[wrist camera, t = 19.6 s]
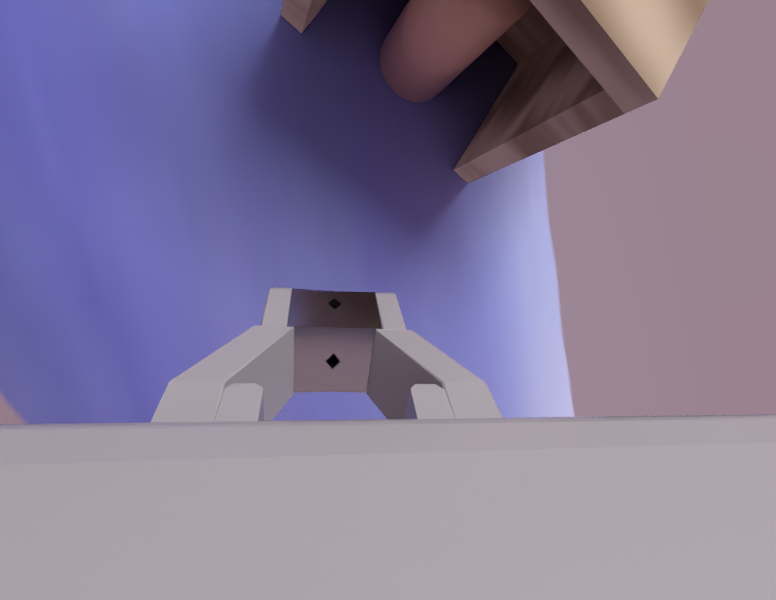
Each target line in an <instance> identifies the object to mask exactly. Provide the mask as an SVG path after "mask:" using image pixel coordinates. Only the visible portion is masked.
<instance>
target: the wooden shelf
mask: <svg viewBox="0 0 776 600" xmlns="http://www.w3.org/2000/svg"><path fill="white" fill-rule="evenodd" d="M530 1H531V5H530V7H529V9H528V10H527V12H526V13H525V14H524V15H523V16H522V17H521V18H520V19H519V20H518V21H516V22H515V23H514V24H513V25H512V26H511V27H510V28H509V29H508V30H507V31H506V32H505V33H504V34H502V35H501V36H500V37H499V38H498V39H497V40H496V41H497V42H498V43H499V44H500V45H501V46H502V47H503V48H504V49H505V50H506V52H507V53H508V54H509V55H510V56H511V57H512V58H513V59H514V60H515V61H516V63H517V64H518V66H517V67H516V69H515V71H514V72H513V74H512V76H511V77H510V79H509V80H508V82H507V84H506V85H505V87H504V88H503V90H502V92H501V93H500V95H499V97H498V98H497V100H496V101H495V103H494V105H493V106H492V108H491V110H490V111H489V113H488V114H487V116H486V118H485V119H484V121H483V123H482V124H481V126H480V127H479V129H478V131H477V132H476V134H475V136H474V137H473V139H472V140H471V142H470V144H469V145H468V147H467V149H466V150H465V152H464V153H463V155H462V157H461V158H460V160H459V162H458V163H457V165H456V166H455V168H454V170H453V171H455V172H456V173H457V174H458V175H459V176H460V177H461V178H462V179H463V180H465V181H466V182H467V183H470V182H472V181H474V180H477V179H479V178H481V177H483V176H486V175H488V174H490V173H492V172H495V171H497V170H499V169H501V168H504V167H506V166H508V165H510V164H513V163H515V162H517V161H519V160H522V159H524V158H526V157H528V156H531V155H533V154H535V153H537V152H540V151H542V150H544V149H546V148H548V147H551V146H553V145H555V144H557V143H560V142H562V141H564V140H566V139H569V138H571V137H573V136H576V135H578V134H580V133H582V132H585V131H587V130H589V129H591V128H593V127H596V126H598V125H600V124H602V123H605V122H607V121H609V120H612V119H614V118H616V117H618V116H621V115H623V114H625V113H627V112H630V111H632V110H634V109H636V108H639V107H641V106H643V105H645V104H647V103H650V102H652V101H654V100H656V99H658V98H659V96H660V94H661V92H662V90H663V88H664V86H665V85H666V83H667V81H668V79H669V77H670V75H671V72H672V71H673V69H674V67H675V65H676V63H677V61H678V59H679V57H680V55H681V53H682V52H683V50H684V48H685V46H686V44H687V42H688V40H689V38H690V36H691V34H692V32H693V30H694V28H695V26H696V24H697V22H698V21H699V19H700V17H701V15H702V13H703V11H704V9H705V7H706V5H707V3H708V1H709V0H530ZM326 2H327V0H284V1H283V6H282V11H281V16H282V17H283V18H285V19H286V20H287V21H288V22H289V23H290V24H291V25H292V26H293V27H295V28H296V29H297V30H298V31H299V32H300V33H301V34H302V33H303V31H304V30H305V29H306V28H307V26H308V25H309V24H310V22H311V21H312V20H313V18H314V17H315V16H316V15H317V13H318V12H319V11H320V9H321V8H322V7H323V5H324V4H325V3H326Z"/></svg>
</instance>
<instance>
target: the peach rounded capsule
mask: <svg viewBox="0 0 776 600" xmlns="http://www.w3.org/2000/svg"><path fill="white" fill-rule="evenodd" d="M530 5H531V1H530V0H409V2H408V3H407V5H406V6H405V8H404V9H403V11H402V13H401V14H400V16H399V17H398V19H397V21H396V22H395V24H394V25H393V27H392V29H391V30H390V32H389V33H388V35H387V36H386V38H385V40H384V41H383V43H382V46H381V50H380V67H381V71H382V74H383V76H384V78H385V80H386V82H387V84H388V85H389V86H390V88H391V89H392V90H393V91H394V92H395V93H396V94H397V95H399V96H400V97H401V98H403V99H405V100H407V101H410V102H415V103H423V102H427V101H430V100H432V99H433V98H434V97H436V96H437V95H438V94H439V93H440V92H441V91H442V90H443V89H444V88H445V87H446V86H447V85H449V84H450V83H451V82H452V81H453V80H454V79H455V78H456V77H457V76H458V75H459V74H460V73H461V72H463V71H464V70H465V69H466V68H467V67H468V66H469V65H470V64H471V63H472V62H473V61H474V60H475V59H477V58H478V57H479V56H480V55H481V54H482V53H483V52H484V51H485V50H486V49H487V48H488V47H490V46H491V45H492V44H493V43H494V42H495V41H496V40H497V39H498V38H499V37H500V36H501V35H502V34H504V33H505V32H506V31H507V30H508V29H509V28H510V27H511V26H512V25H513V24H514V23H515V22H516V21H518V20H519V19H520V18H521V17H522V16H523V15H524V14H525V13H526V12H527V10H528V9H529V7H530Z"/></svg>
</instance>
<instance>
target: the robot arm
mask: <svg viewBox="0 0 776 600" xmlns="http://www.w3.org/2000/svg"><path fill="white" fill-rule="evenodd" d="M329 391H331V392H367V395H368V396H369V397H370V399H371V400H372V401H373V402H374V403H375V405H376V406H377V407H378V408H379V409H380V411H381V412H382V413H383V414H384V416H385V417H386V418H387V419H378V420H300V421H272V419H273V418H274V417H275V416H276V415H277V413H278V412H279V411H280V410H281V409H282V407H283V406H284V405H285V404H286V403H287V401H288V400H289V399H290V398H291V397H292V395H293V392H329ZM0 600H776V414H770V415H769V414H767V415H766V414H765V415H764V414H762V415H693V416H692V415H690V416H689V415H686V416H609V417H529V418H502V415H501V413H500V411H499V409H498V407H497V405H496V403H495V401H494V399H493V397H492V394H491V392H490V390H489V388H488V386H487V384H486V383H485V382H484V381H482V380H481V379H480V378H478V377H477V376H475V375H474V374H473V373H471V372H470V371H468V370H467V369H466V368H464V367H463V366H461V365H460V364H459V363H457V362H456V361H454V360H453V359H452V358H450V357H449V356H447V355H446V354H445V353H443V352H442V351H440V350H439V349H438V348H436V347H435V346H433V345H432V344H431V343H429V342H428V341H426V340H425V339H424V338H422V337H421V336H419V335H418V334H417V333H415V332H414V331H412V330H406V327H405V324H404V320H403V317H402V314H401V310H400V307H399V303H398V300H397V297H396V294H395V293H375V292H335V291H325V290H309V289H294V288H293V289H291V288H274V287H271V288H270V289H269V290H268V295H267V299H266V303H265V308H264V312H263V316H262V321H261V325H260V326H253V327H251V328H250V329H248V330H247V331H245V332H244V333H242V334H241V335H239V336H238V337H236V338H234V339H233V340H231V341H230V342H228V343H227V344H225V345H224V346H222V347H221V348H219V349H218V350H216V351H215V352H213V353H212V354H210V355H209V356H207V357H206V358H204V359H203V360H201V361H200V362H198V363H197V364H195V365H194V366H192V367H191V368H189V369H187V370H186V371H184V372H183V373H181V374H180V375H178V376H177V377H175V378H174V379H172V380H171V381H170V382H169V384H168V386H167V388H166V390H165V392H164V394H163V396H162V399H161V401H160V403H159V405H158V407H157V409H156V411H155V414H154V416H153V418H152V420H151V422H144V423H66V424H0Z"/></svg>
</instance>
